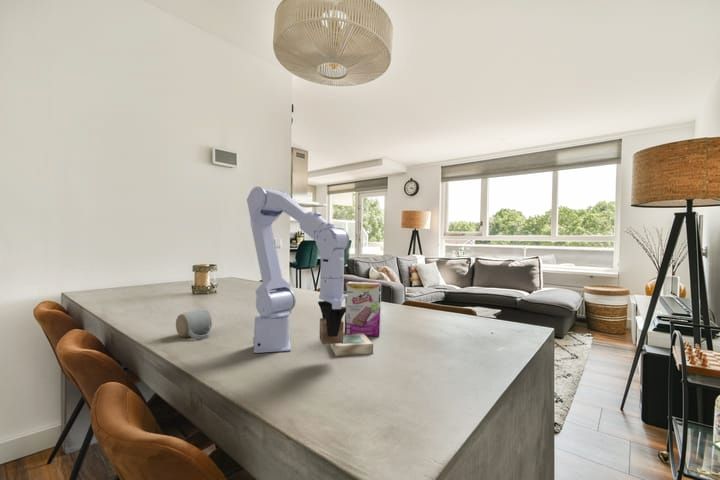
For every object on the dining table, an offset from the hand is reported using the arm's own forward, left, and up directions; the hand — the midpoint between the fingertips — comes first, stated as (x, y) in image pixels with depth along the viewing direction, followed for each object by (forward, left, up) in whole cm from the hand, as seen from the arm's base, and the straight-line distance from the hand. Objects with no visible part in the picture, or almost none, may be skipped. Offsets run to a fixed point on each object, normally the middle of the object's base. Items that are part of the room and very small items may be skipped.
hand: (330, 332), depth 83 cm
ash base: (+7, +9, -7) cm, 13 cm away
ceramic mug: (-36, +31, -7) cm, 48 cm away
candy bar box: (+14, +22, -7) cm, 27 cm away
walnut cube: (0, 0, -2) cm, 2 cm away
